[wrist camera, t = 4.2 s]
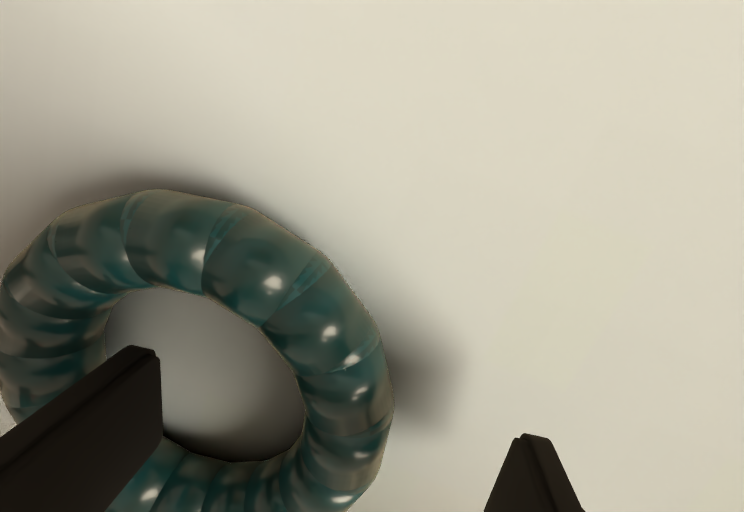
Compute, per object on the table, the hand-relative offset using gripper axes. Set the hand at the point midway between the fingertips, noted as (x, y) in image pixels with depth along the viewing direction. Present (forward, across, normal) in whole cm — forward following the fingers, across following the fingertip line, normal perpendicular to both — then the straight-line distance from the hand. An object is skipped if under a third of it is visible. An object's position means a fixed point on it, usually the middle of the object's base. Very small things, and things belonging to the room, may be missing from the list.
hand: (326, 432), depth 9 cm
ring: (+1, +4, 0) cm, 4 cm away
